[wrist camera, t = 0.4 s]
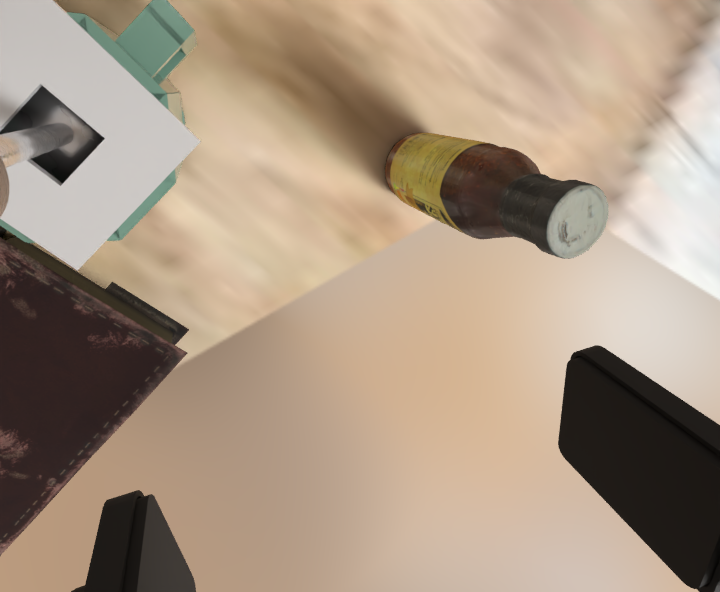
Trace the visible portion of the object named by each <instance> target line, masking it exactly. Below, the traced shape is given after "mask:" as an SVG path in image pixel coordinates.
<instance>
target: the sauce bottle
mask: <svg viewBox="0 0 720 592" xmlns="http://www.w3.org/2000/svg"><path fill="white" fill-rule="evenodd" d="M385 175H386V180H387V183H388V185H389V187H390V190H391V191H392V192H393V193H394V194H395V195H396V196H397V197H398V198H399V199H400V200H401V201H403V202H404V203H406V204H408V205H409V206H411V207H413V208H415V209H417V210H419V211H421V212H423V213H425V214H427V215H429V216H431V217H433V218H435V219H437V220H438V221H440V222H442V223H444V224H447V225H449V226H451V227H452V228H454V229H457V230H458V231H460V232H462V233H465V234H467V235H469V236H471V237H474V238H478V239H490V238H500V237H513V236H514V237H518V238H523V239H525V240H527V241H529V242H532V243H534V244H535V245H536V246H537V247H538V248H539V249H540V250H541V251H543V252H546V253H548V254H551V255H555V256H557V257H560V258H568V259H569V258H574V257H577V256H579V255H581V254H582V253H584V252H586V251H587V250H589V249H590V247H592V245H593V244H594V243H595V242H596V241H597V240H598V239H599V237H600V236H601V235H602V233H603V231H604V228H605V227H606V222H607V219H608V203H607V200H606V196H605V195H604V193H603V191H602V190H601V189H599V188H598V187H597V186H594V185H592V184H589V183H585V182H581V181H577V180H567V181H560V180H556V179H551V178H549V177H548V176H546V175H543V174H540V171H539V169H538V167H537V166H536V164H535V163H534V162H532V160H531V159H530V158H528V157H527V156H526V155H524V154H522V153H521V152H519V151H517V150H514V149H509V148H506V147H498V146H496V145H494V144H490V143H485V142H480V141H474V140H468V139H462V138H456V137H450V136H444V135H438V134H431V133H416V134H412V135H409V136H407V137H405V138H403V139H402V140H400V141H399V142H398V143H396V145H394V147H393V149H392V150H391V151H390V154H389V156H388V158H387V162H386V166H385Z"/></svg>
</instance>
